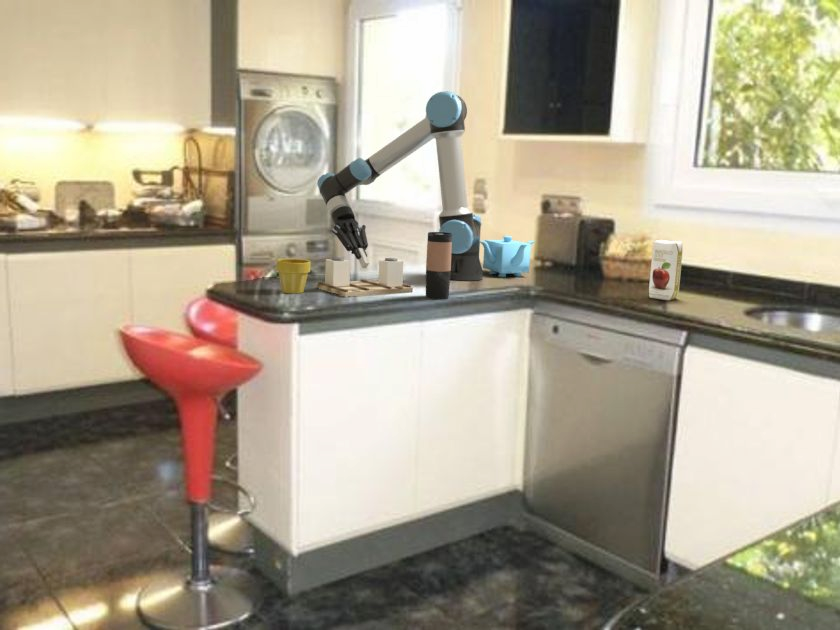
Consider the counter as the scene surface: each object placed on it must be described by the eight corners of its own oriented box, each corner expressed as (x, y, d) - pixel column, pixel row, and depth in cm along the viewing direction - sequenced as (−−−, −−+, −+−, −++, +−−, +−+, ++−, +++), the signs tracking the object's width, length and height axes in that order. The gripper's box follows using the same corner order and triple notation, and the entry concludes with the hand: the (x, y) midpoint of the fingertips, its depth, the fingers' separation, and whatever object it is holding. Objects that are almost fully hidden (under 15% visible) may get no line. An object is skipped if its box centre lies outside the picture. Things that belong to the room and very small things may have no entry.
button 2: (378, 284, 270) (379, 258, 268) (393, 283, 273) (394, 257, 272) (386, 286, 266) (387, 260, 264) (402, 285, 269) (403, 259, 268)
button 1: (325, 284, 265) (325, 257, 264) (341, 283, 269) (342, 256, 267) (333, 286, 261) (333, 259, 260) (349, 285, 265) (350, 258, 263)
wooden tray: (316, 288, 267) (316, 281, 267) (381, 283, 282) (381, 277, 281) (345, 297, 253) (345, 290, 252) (412, 292, 268) (412, 285, 267)
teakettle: (488, 270, 327) (490, 232, 325) (535, 274, 321) (538, 236, 318) (475, 276, 310) (477, 236, 307) (524, 280, 304) (527, 240, 301)
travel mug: (450, 296, 263) (453, 232, 259) (448, 300, 256) (451, 234, 252) (425, 294, 264) (428, 231, 260) (423, 298, 256) (426, 233, 253)
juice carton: (655, 295, 282) (660, 239, 279) (680, 298, 277) (685, 241, 274) (646, 297, 277) (651, 240, 273) (670, 301, 271) (676, 243, 268)
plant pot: (317, 292, 260) (317, 260, 259) (294, 295, 252) (294, 263, 250) (292, 288, 266) (292, 257, 264) (269, 291, 258) (269, 260, 256)
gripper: (352, 218, 297) (377, 271, 287) (320, 219, 289) (344, 273, 279) (361, 204, 292) (386, 258, 282) (328, 204, 284) (353, 259, 274)
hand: (365, 265), depth 280 cm, fingers closed
